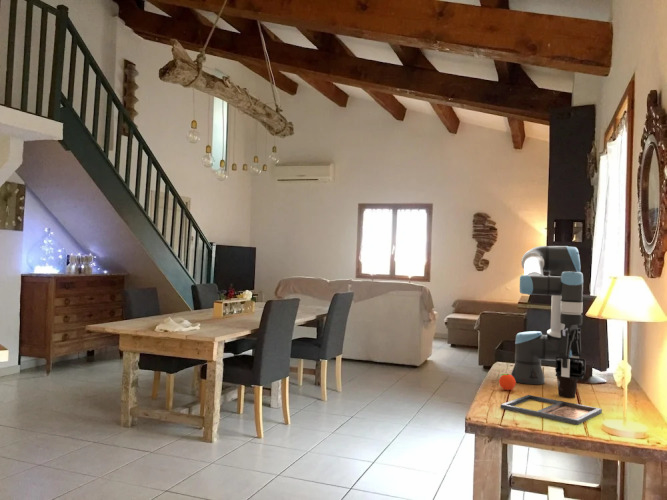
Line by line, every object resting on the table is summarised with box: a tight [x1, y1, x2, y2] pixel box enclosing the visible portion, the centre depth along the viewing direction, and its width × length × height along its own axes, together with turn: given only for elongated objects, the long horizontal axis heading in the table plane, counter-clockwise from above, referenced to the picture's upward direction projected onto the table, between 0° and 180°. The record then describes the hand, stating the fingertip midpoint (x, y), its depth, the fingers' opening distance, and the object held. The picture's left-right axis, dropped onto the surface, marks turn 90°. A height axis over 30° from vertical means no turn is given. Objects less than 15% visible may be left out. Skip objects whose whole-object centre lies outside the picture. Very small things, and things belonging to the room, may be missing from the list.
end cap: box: [554, 356, 587, 380], centre depth 209 cm, size 10×7×7 cm
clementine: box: [498, 373, 517, 391], centre depth 247 cm, size 8×7×7 cm
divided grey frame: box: [500, 394, 603, 426], centre depth 213 cm, size 24×28×2 cm
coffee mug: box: [556, 376, 579, 399], centre depth 237 cm, size 12×9×10 cm
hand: (570, 375), depth 209 cm, fingers closed on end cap, 8 cm apart
